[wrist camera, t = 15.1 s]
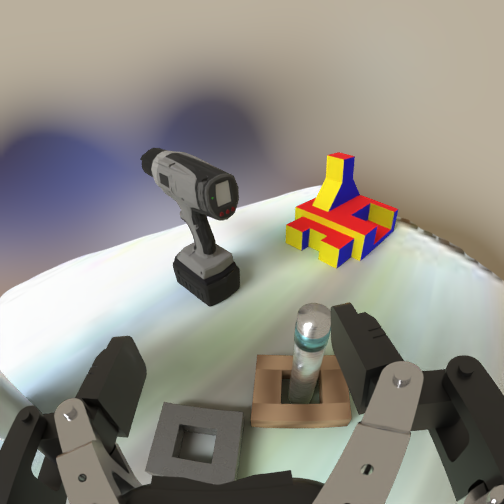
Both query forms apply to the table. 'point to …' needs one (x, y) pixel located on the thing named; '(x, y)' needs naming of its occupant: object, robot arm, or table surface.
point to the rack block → (299, 415)
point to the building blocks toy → (340, 217)
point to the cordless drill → (198, 220)
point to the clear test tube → (308, 351)
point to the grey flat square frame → (204, 422)
